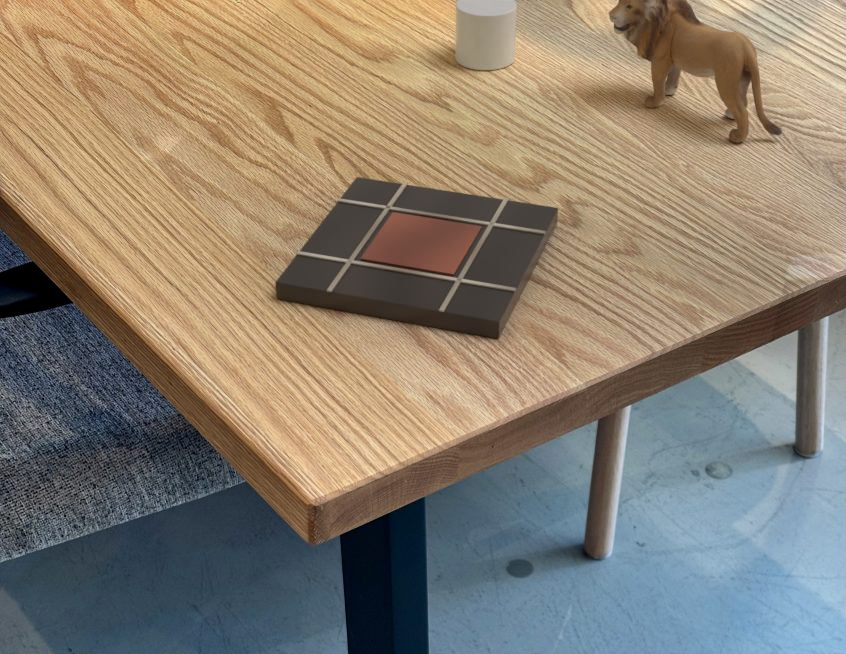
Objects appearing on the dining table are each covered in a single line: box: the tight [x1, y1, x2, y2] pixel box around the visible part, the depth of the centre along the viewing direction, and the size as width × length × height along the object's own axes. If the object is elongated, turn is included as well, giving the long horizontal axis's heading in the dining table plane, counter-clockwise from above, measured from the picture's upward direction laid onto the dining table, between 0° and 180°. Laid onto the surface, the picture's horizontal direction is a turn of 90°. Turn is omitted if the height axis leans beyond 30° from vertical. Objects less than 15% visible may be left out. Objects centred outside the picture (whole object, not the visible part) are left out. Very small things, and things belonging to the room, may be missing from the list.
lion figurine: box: [608, 0, 783, 143], centre depth 96 cm, size 15×5×9 cm, turn 50°
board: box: [274, 176, 559, 339], centre depth 83 cm, size 14×14×1 cm
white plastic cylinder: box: [454, 0, 518, 71], centre depth 105 cm, size 5×5×4 cm
